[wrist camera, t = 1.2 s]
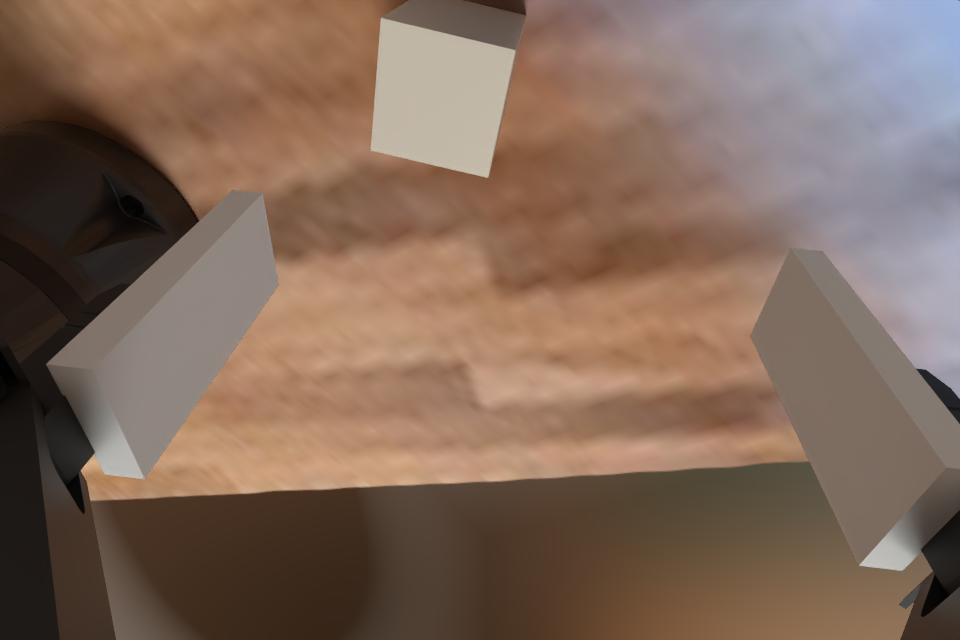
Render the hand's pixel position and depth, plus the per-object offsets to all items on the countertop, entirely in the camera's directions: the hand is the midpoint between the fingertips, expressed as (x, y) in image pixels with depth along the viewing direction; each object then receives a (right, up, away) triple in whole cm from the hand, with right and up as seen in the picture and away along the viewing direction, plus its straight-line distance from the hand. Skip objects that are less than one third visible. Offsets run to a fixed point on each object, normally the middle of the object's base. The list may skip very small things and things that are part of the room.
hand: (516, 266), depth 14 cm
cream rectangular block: (-2, +12, +14) cm, 18 cm away
